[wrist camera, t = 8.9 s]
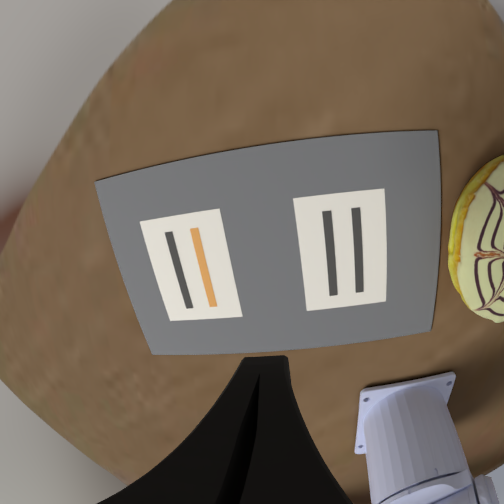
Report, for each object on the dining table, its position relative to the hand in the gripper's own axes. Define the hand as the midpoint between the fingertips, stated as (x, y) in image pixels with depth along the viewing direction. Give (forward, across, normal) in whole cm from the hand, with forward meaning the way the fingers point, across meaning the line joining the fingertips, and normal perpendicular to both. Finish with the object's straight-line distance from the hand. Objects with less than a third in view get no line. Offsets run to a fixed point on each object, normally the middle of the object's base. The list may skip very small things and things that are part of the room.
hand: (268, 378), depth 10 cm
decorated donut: (+10, -15, 0) cm, 18 cm away
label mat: (+10, 0, 0) cm, 10 cm away
